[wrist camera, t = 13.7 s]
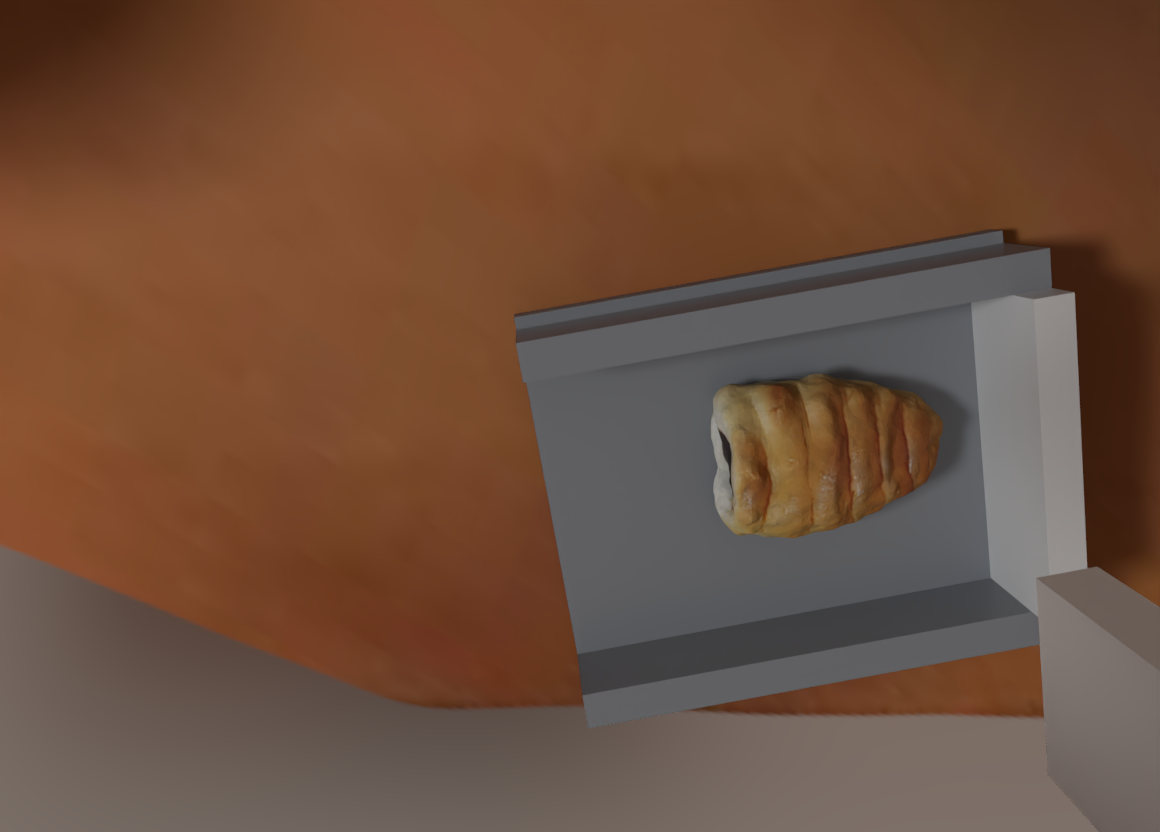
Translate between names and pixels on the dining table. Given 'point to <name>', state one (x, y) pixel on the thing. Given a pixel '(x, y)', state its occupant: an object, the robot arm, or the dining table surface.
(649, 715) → the tray
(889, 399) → the pastry
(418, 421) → the dining table surface
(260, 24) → the dining table surface
